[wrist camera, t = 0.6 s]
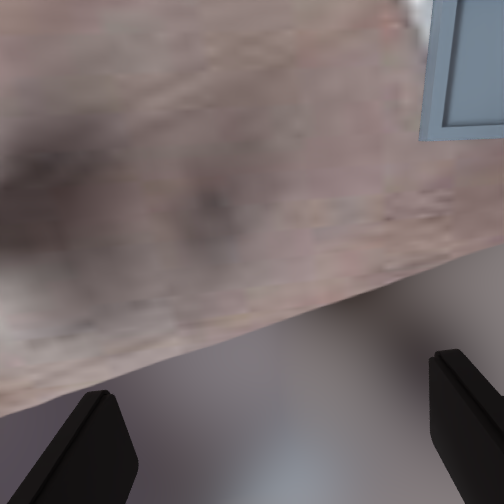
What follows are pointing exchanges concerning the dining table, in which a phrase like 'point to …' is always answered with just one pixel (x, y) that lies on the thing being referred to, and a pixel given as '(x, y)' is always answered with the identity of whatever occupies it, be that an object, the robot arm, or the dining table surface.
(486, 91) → the tray
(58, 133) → the dining table surface
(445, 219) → the dining table surface
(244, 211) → the dining table surface
